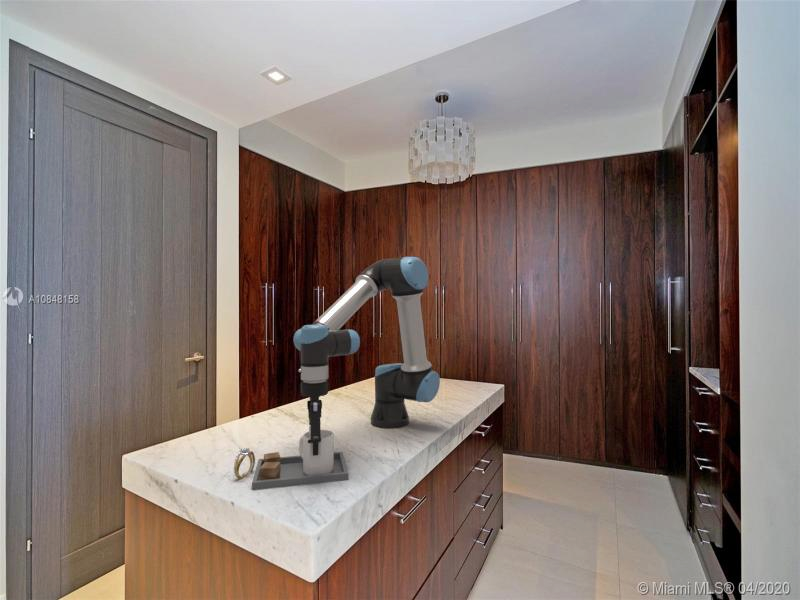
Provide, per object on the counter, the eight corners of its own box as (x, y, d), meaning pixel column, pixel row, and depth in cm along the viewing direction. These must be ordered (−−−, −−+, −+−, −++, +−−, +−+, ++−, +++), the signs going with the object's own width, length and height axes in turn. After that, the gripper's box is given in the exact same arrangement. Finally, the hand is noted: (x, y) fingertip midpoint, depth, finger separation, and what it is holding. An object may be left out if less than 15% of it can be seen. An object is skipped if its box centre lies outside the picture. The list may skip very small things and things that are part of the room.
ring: (249, 472, 112) (249, 444, 112) (258, 474, 111) (258, 445, 111) (229, 483, 106) (230, 452, 106) (239, 485, 105) (239, 454, 105)
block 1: (278, 466, 115) (278, 451, 115) (280, 471, 111) (280, 456, 111) (263, 468, 113) (263, 454, 113) (265, 473, 110) (265, 459, 110)
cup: (317, 480, 106) (317, 441, 106) (288, 469, 113) (288, 432, 113) (339, 469, 112) (339, 433, 112) (310, 460, 119) (310, 425, 119)
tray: (342, 459, 121) (342, 451, 121) (348, 482, 106) (348, 473, 106) (258, 467, 116) (258, 459, 116) (251, 493, 100) (251, 483, 100)
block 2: (280, 477, 107) (280, 462, 107) (275, 483, 103) (275, 468, 103) (265, 477, 108) (265, 462, 108) (259, 483, 104) (259, 468, 104)
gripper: (300, 373, 123) (300, 443, 123) (300, 390, 99) (300, 477, 99) (325, 372, 125) (325, 441, 125) (331, 388, 101) (331, 474, 100)
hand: (314, 457), depth 112 cm, fingers open, 13 cm apart
